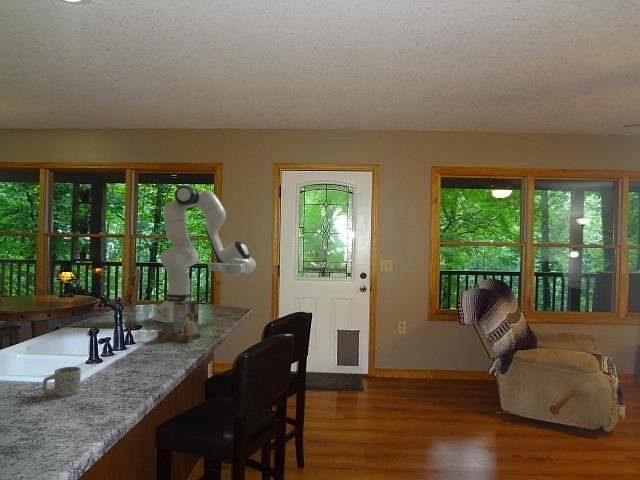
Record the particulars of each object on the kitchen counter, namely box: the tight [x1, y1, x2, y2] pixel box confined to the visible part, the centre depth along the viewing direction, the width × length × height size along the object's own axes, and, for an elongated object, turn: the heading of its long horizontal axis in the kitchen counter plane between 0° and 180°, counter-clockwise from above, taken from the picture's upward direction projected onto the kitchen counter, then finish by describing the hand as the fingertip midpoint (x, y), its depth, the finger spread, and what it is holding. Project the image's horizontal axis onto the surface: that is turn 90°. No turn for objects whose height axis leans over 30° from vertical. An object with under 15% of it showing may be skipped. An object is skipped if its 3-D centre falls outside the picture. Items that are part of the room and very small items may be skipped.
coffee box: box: [173, 300, 199, 335], centre depth 213 cm, size 9×6×16 cm
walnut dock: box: [157, 330, 201, 344], centre depth 211 cm, size 18×10×3 cm, turn 64°
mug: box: [42, 366, 82, 398], centre depth 136 cm, size 10×7×7 cm
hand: (217, 268), depth 234 cm, fingers closed
